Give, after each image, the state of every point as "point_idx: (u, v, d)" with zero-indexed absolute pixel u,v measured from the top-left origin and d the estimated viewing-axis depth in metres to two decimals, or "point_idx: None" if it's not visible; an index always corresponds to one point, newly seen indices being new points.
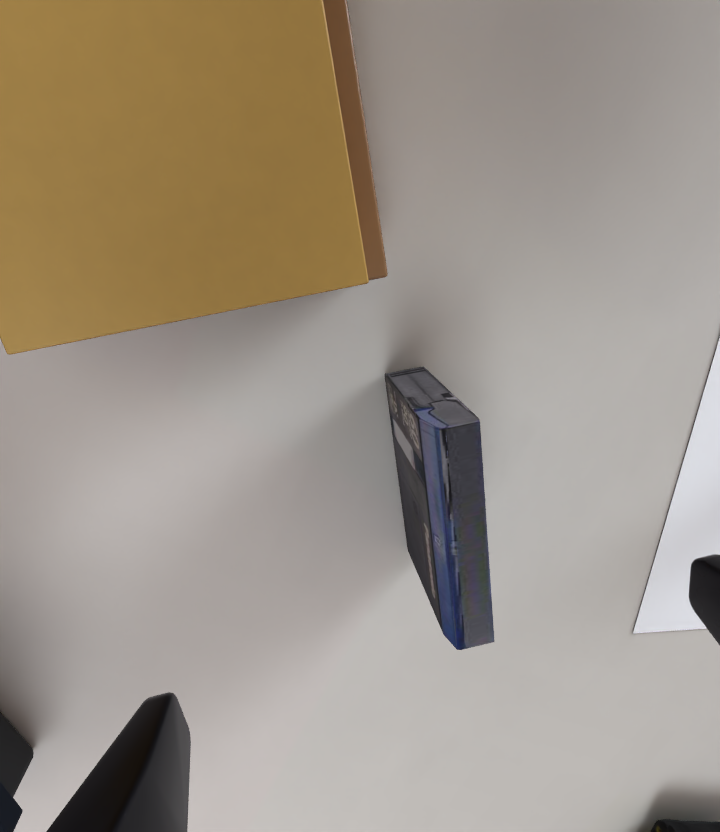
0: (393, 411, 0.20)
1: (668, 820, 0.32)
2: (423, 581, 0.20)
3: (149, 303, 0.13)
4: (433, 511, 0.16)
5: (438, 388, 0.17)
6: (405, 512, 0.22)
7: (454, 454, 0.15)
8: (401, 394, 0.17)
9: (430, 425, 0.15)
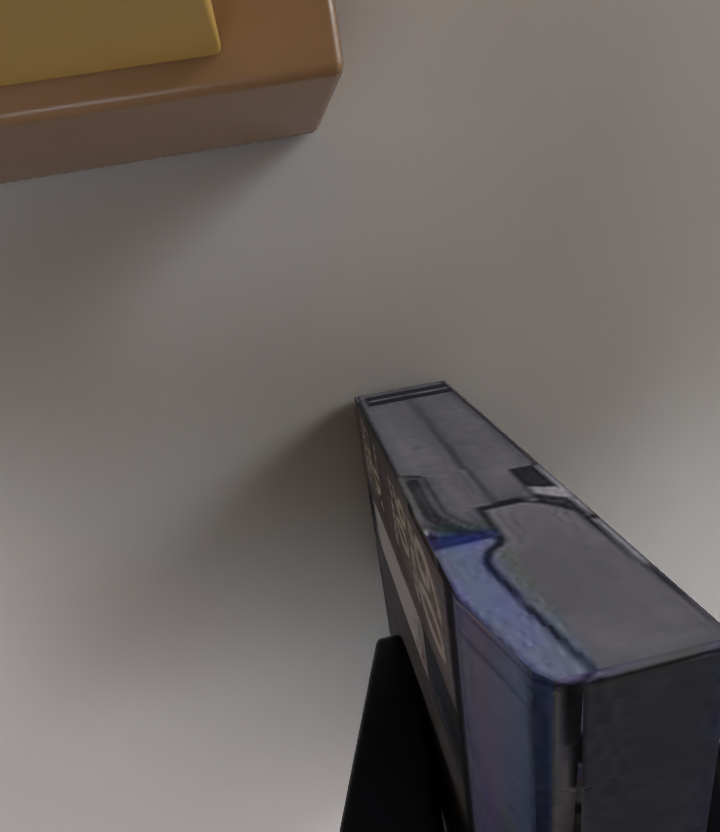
0: (374, 487, 0.08)
1: None
2: None
3: None
4: None
5: (497, 446, 0.06)
6: None
7: (608, 772, 0.03)
8: (390, 464, 0.06)
9: (507, 653, 0.03)
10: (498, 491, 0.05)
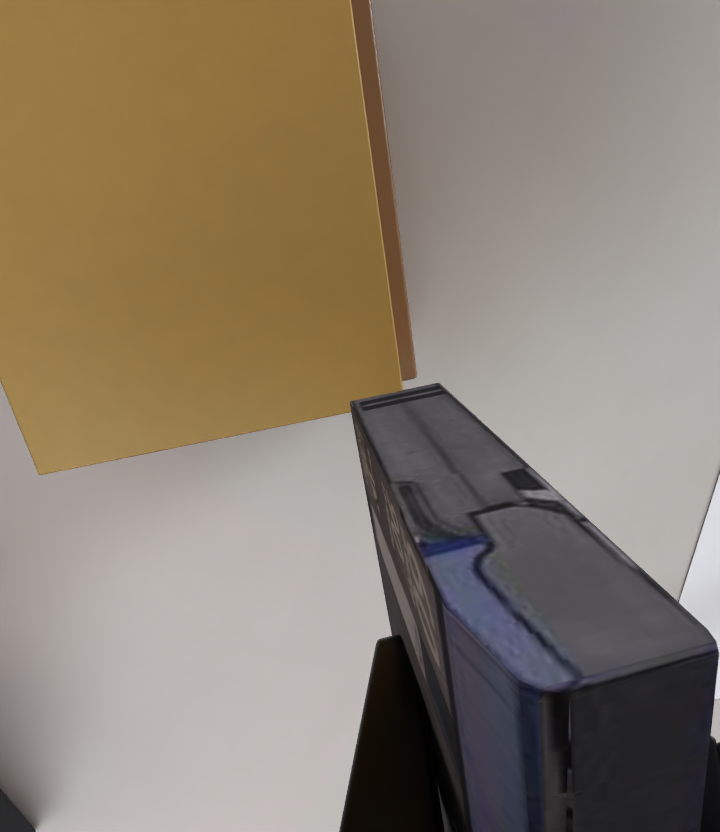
0: (370, 490, 0.08)
1: None
2: None
3: (185, 424, 0.13)
4: None
5: (490, 450, 0.06)
6: None
7: (598, 777, 0.03)
8: (383, 469, 0.06)
9: (496, 659, 0.03)
10: (489, 495, 0.05)
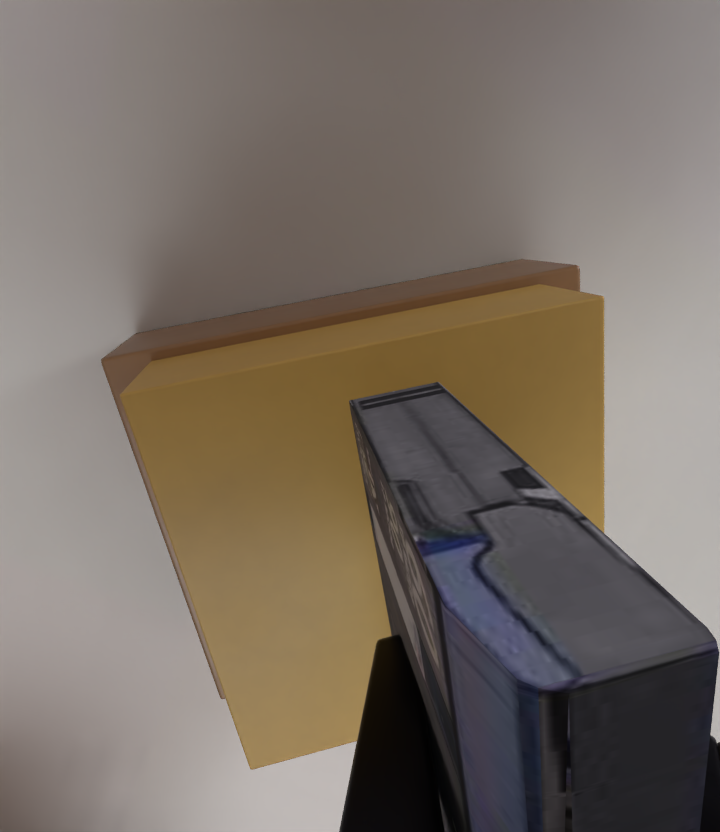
0: (369, 489, 0.08)
1: None
2: None
3: None
4: None
5: (489, 447, 0.06)
6: None
7: (598, 777, 0.03)
8: (382, 468, 0.06)
9: (494, 659, 0.03)
10: (488, 494, 0.05)
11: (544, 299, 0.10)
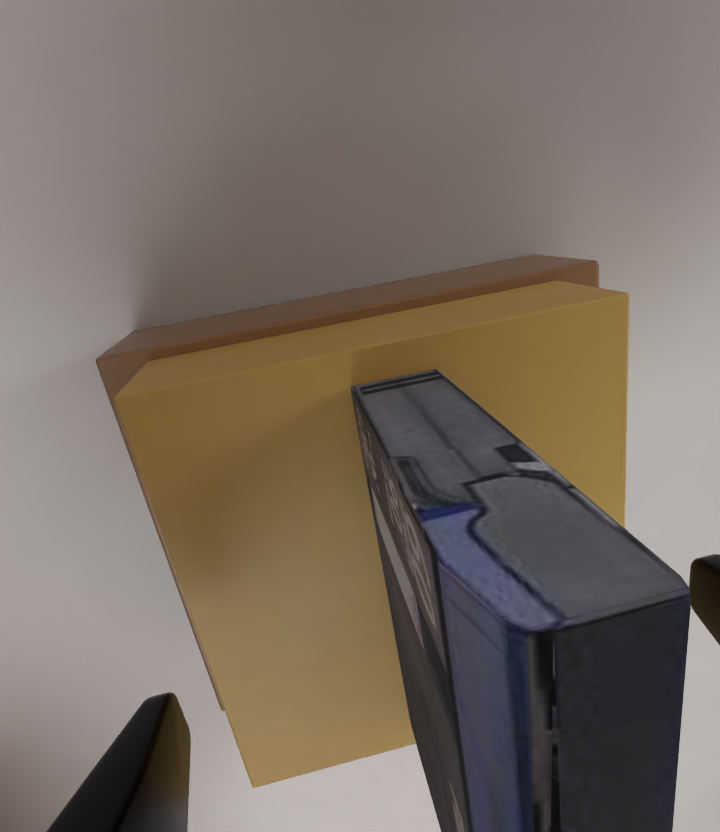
0: (370, 472, 0.09)
1: None
2: None
3: (402, 730, 0.12)
4: (486, 829, 0.05)
5: (484, 428, 0.06)
6: (403, 668, 0.11)
7: (581, 715, 0.04)
8: (382, 446, 0.06)
9: (485, 606, 0.04)
10: (483, 467, 0.05)
11: (564, 296, 0.10)
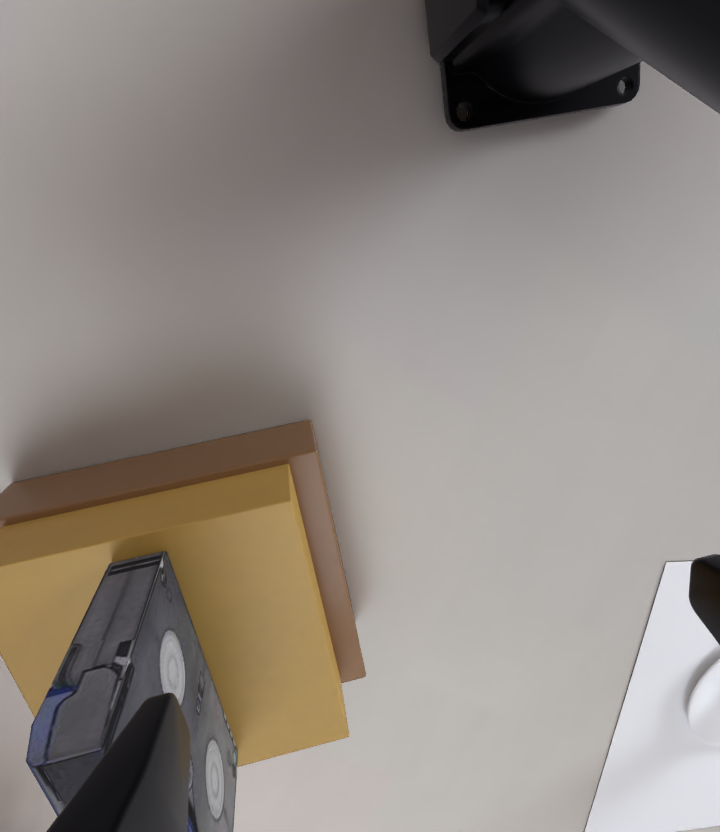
0: None
1: None
2: None
3: None
4: None
5: (132, 622, 0.12)
6: None
7: (71, 795, 0.09)
8: (76, 632, 0.12)
9: (28, 752, 0.09)
10: (101, 659, 0.11)
11: (262, 494, 0.15)
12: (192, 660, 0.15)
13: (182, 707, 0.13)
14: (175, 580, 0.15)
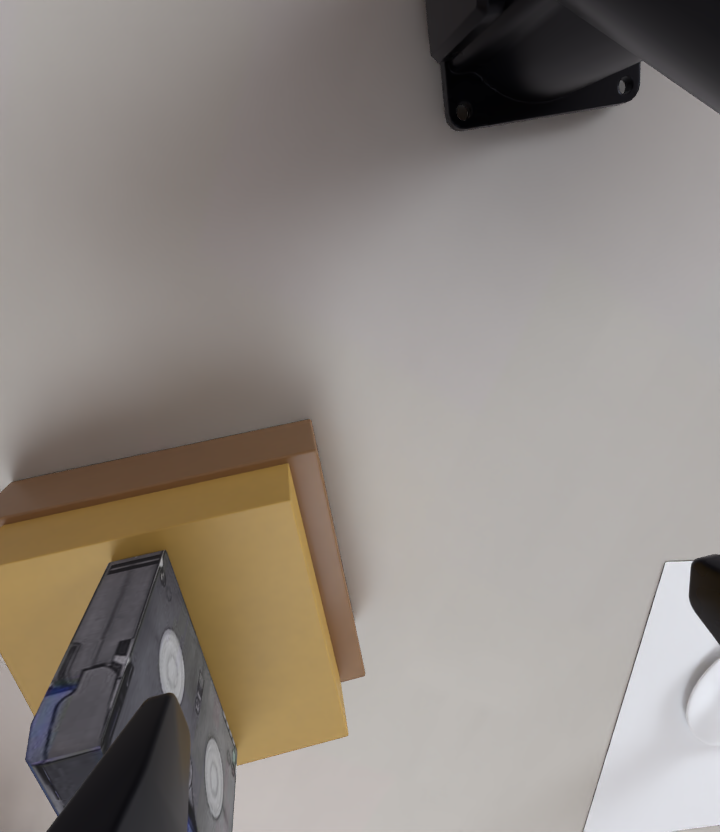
0: None
1: None
2: None
3: None
4: None
5: (131, 621, 0.12)
6: None
7: (70, 794, 0.09)
8: (76, 631, 0.12)
9: (27, 750, 0.09)
10: (101, 657, 0.11)
11: (262, 493, 0.15)
12: (191, 659, 0.15)
13: (181, 706, 0.13)
14: (175, 579, 0.15)
